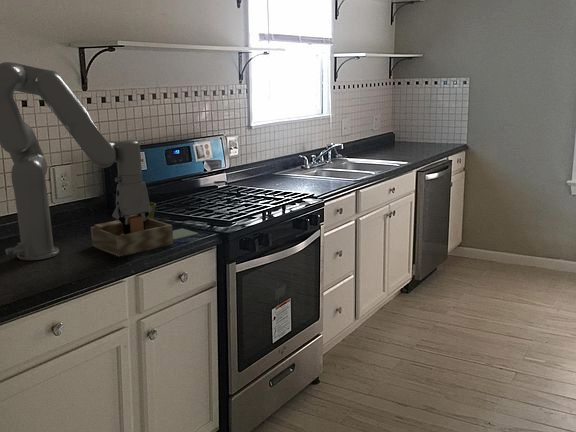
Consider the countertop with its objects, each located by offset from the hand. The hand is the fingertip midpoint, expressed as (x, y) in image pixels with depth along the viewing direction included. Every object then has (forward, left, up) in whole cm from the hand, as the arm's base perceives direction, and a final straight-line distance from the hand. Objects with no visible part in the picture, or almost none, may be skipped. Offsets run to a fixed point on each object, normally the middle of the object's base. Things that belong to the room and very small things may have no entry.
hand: (134, 233), depth 215 cm
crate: (0, +2, -4) cm, 5 cm away
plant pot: (+15, +20, -5) cm, 25 cm away
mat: (+18, +2, -4) cm, 19 cm away
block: (0, 0, 0) cm, 0 cm away
